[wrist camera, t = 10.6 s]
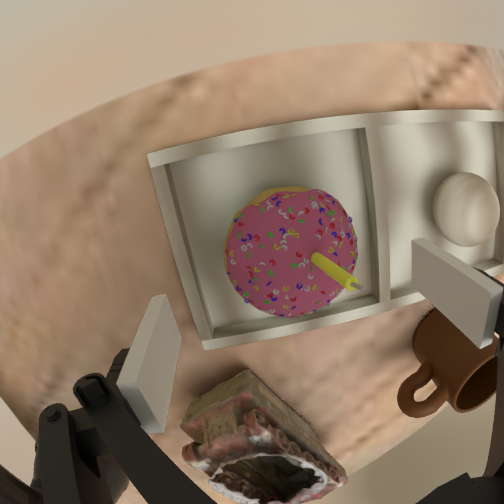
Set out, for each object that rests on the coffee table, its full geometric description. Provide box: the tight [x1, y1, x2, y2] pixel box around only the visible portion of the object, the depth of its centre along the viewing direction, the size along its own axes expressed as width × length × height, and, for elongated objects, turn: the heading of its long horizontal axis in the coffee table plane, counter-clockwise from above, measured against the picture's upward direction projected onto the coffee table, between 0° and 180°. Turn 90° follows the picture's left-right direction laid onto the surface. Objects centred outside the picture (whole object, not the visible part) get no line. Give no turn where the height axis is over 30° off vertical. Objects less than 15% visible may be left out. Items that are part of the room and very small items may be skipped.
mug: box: [397, 309, 499, 418], centre depth 26 cm, size 12×8×9 cm, turn 110°
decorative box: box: [180, 369, 348, 504], centre depth 28 cm, size 13×20×10 cm, turn 30°
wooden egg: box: [433, 172, 500, 247], centre depth 21 cm, size 6×6×6 cm
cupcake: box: [223, 186, 365, 318], centre depth 19 cm, size 9×8×12 cm
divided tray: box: [147, 109, 504, 351], centre depth 24 cm, size 31×16×2 cm, turn 101°
